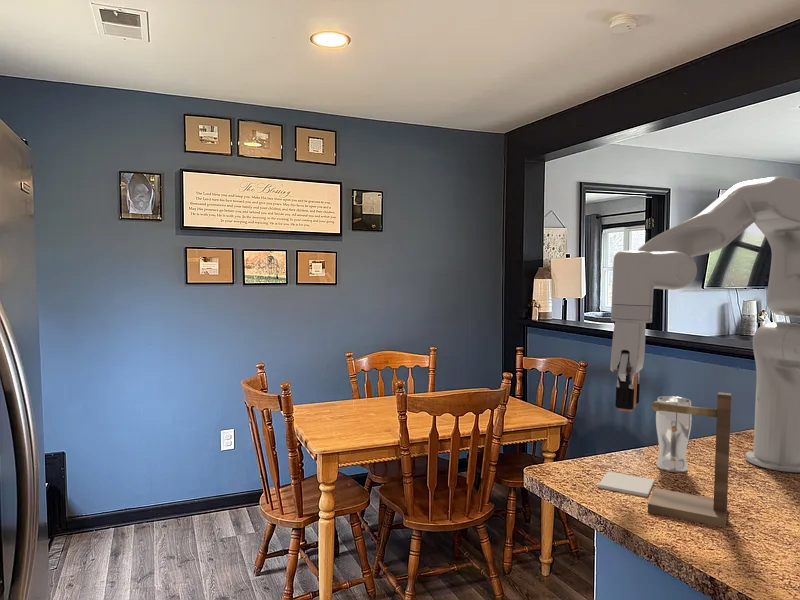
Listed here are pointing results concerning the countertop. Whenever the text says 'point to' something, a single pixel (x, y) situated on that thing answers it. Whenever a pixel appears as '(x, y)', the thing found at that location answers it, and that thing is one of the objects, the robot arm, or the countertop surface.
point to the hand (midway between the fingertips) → (627, 404)
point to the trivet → (627, 484)
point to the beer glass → (673, 435)
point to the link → (634, 391)
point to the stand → (715, 508)
